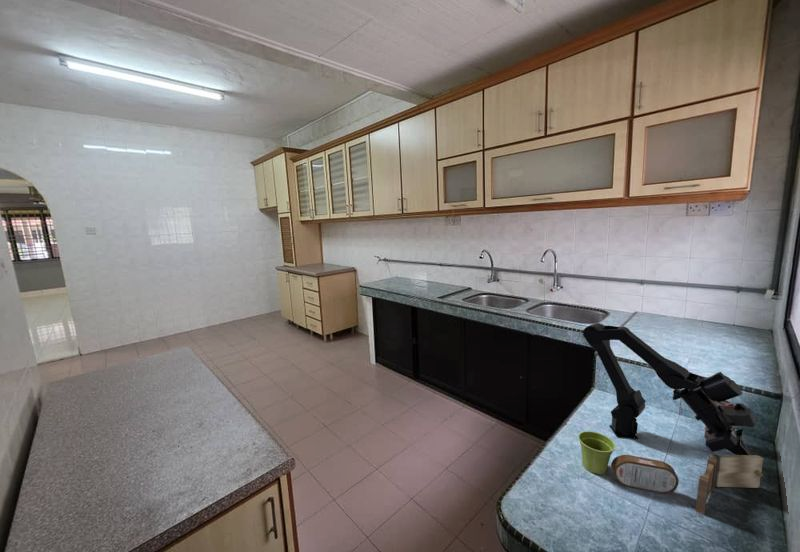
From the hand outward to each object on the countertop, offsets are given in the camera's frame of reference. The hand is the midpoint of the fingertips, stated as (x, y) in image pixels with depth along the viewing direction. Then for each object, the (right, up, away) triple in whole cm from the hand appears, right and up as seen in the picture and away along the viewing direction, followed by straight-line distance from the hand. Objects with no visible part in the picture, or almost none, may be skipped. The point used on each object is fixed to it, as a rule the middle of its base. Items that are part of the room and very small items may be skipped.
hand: (752, 462), depth 89 cm
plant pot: (-38, -6, +8) cm, 40 cm away
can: (+9, -4, +19) cm, 21 cm away
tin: (-30, -7, 0) cm, 31 cm away
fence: (-17, -7, -4) cm, 19 cm away
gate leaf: (-6, -6, 0) cm, 9 cm away
